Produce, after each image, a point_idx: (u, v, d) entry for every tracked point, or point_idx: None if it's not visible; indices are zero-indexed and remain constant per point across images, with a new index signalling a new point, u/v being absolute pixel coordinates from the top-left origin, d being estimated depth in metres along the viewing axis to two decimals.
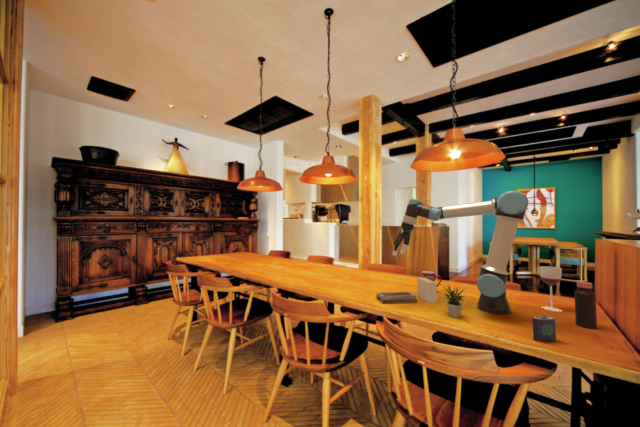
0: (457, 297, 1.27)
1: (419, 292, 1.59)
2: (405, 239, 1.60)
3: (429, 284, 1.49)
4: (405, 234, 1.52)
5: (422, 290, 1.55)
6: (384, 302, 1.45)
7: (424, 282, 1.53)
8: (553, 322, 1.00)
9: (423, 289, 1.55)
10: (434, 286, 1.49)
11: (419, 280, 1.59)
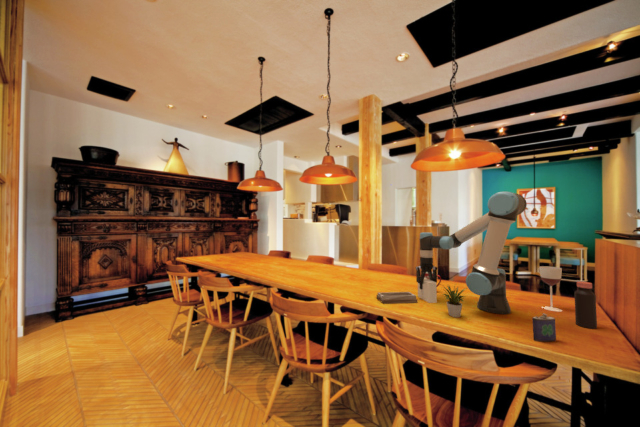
0: (457, 297, 1.27)
1: (419, 292, 1.59)
2: (429, 276, 1.56)
3: (429, 284, 1.49)
4: (424, 269, 1.54)
5: None
6: (384, 302, 1.45)
7: (424, 282, 1.53)
8: (553, 322, 1.00)
9: None
10: (434, 286, 1.49)
11: None
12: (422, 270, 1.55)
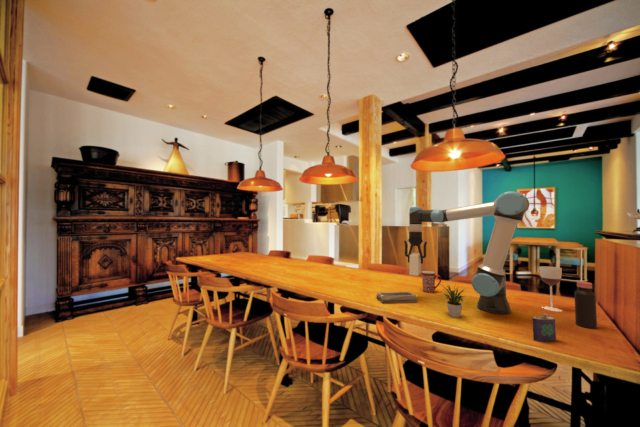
0: (457, 297, 1.27)
1: None
2: (419, 250, 1.55)
3: (410, 257, 1.51)
4: (411, 243, 1.56)
5: None
6: (384, 302, 1.45)
7: None
8: (553, 322, 1.00)
9: None
10: (415, 259, 1.49)
11: None
12: (411, 244, 1.57)
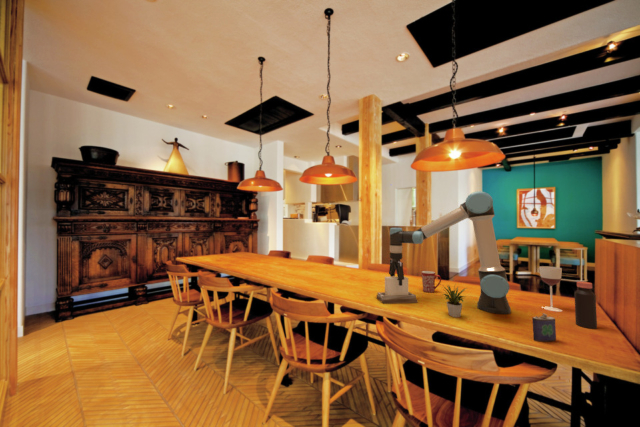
0: (457, 297, 1.27)
1: None
2: None
3: (385, 278, 1.54)
4: None
5: None
6: (384, 302, 1.45)
7: None
8: (553, 322, 1.00)
9: None
10: (387, 281, 1.51)
11: None
12: None
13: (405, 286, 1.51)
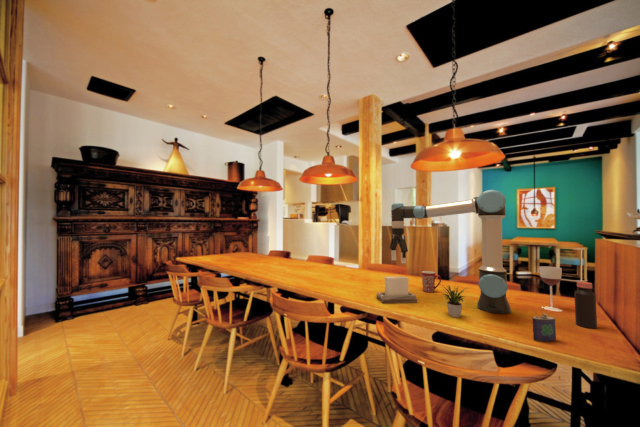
0: (457, 297, 1.27)
1: None
2: None
3: (385, 278, 1.54)
4: (394, 239, 1.58)
5: None
6: (384, 302, 1.45)
7: None
8: (553, 322, 1.00)
9: None
10: (387, 281, 1.51)
11: None
12: None
13: (405, 286, 1.51)
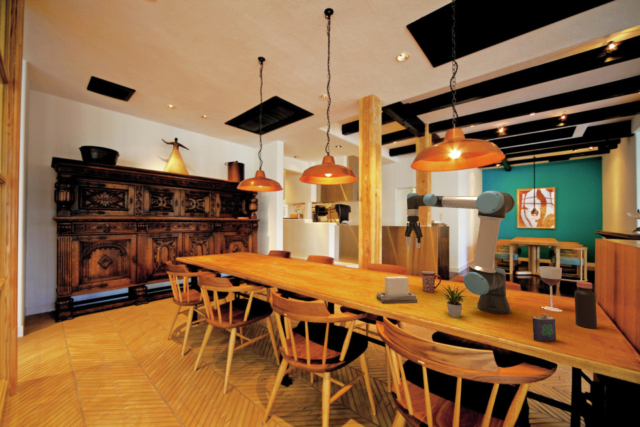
0: (457, 297, 1.27)
1: None
2: None
3: (385, 278, 1.54)
4: (409, 226, 1.70)
5: None
6: (384, 302, 1.45)
7: None
8: (553, 322, 1.00)
9: None
10: (387, 281, 1.51)
11: None
12: None
13: (405, 286, 1.51)
